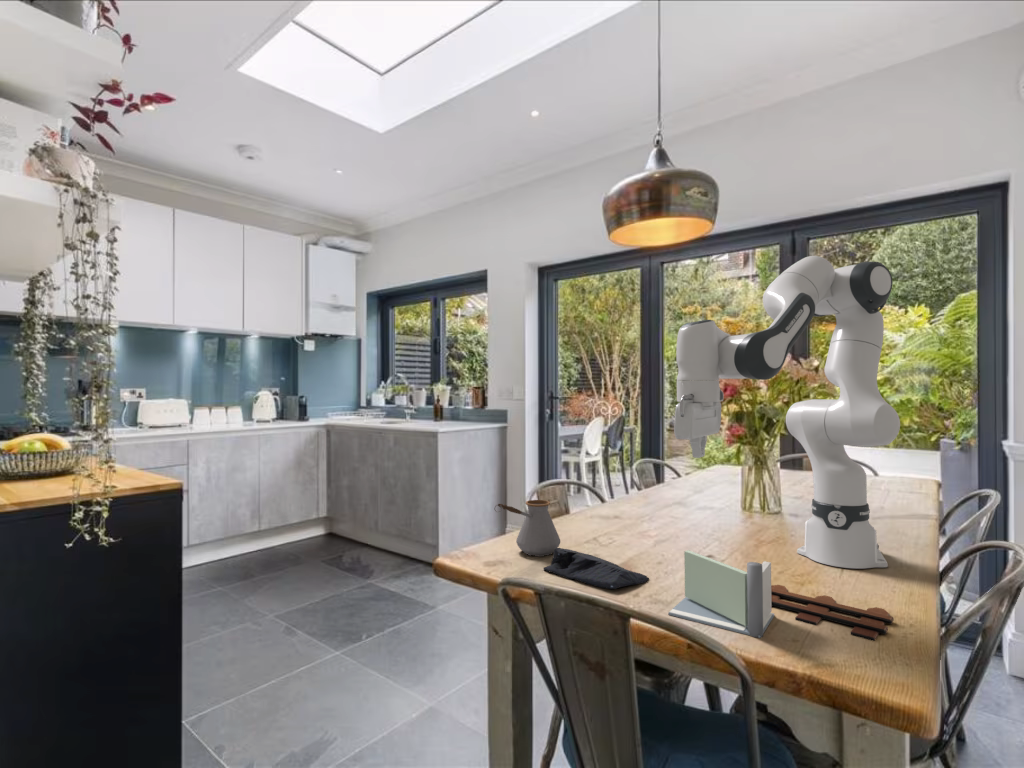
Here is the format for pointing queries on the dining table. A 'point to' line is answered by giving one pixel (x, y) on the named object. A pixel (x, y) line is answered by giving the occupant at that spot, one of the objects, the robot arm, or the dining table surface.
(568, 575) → the dark slate chunk
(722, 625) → the card
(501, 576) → the dining table surface
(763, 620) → the fence post and white panel
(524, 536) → the coffee pot
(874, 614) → the decorative fence
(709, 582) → the green wall panel
